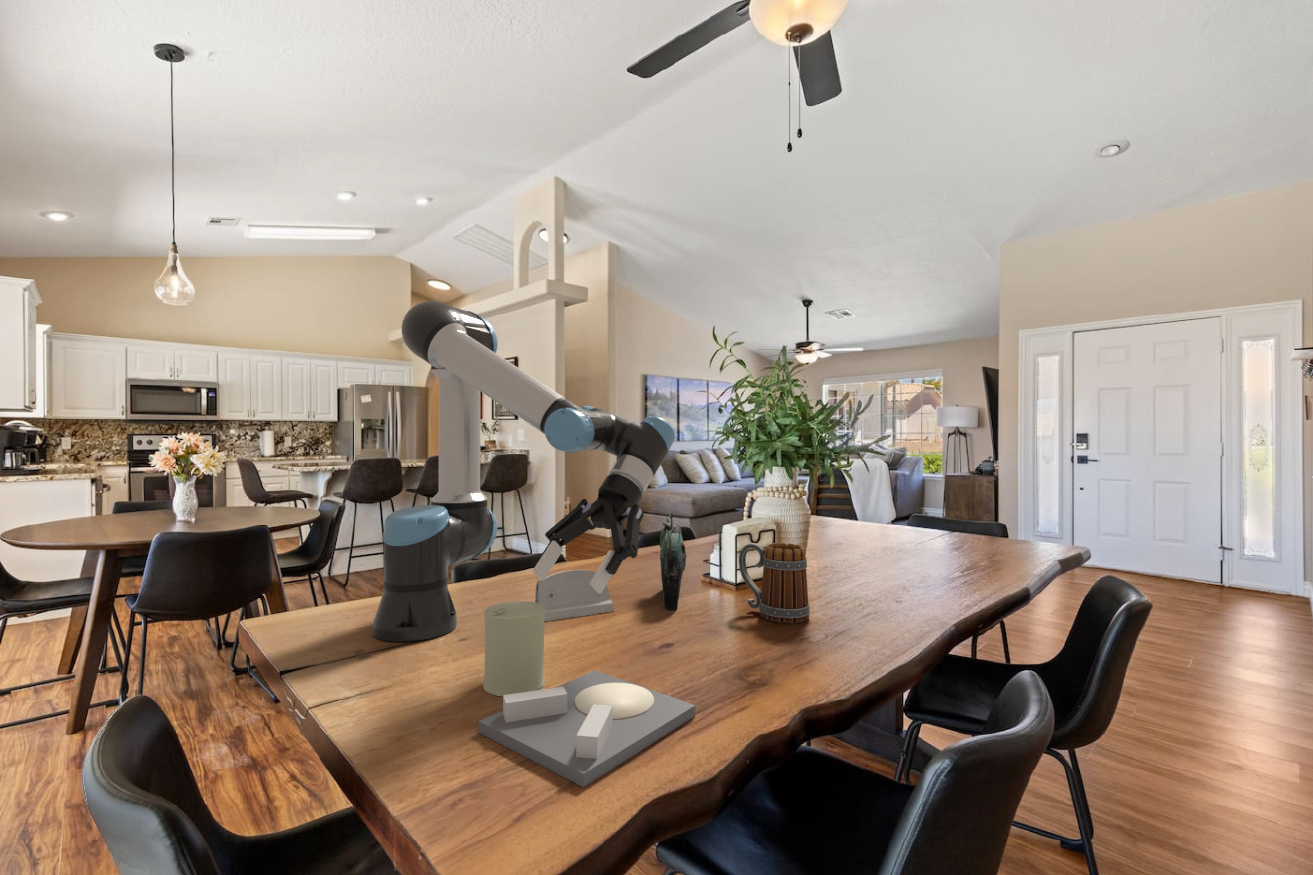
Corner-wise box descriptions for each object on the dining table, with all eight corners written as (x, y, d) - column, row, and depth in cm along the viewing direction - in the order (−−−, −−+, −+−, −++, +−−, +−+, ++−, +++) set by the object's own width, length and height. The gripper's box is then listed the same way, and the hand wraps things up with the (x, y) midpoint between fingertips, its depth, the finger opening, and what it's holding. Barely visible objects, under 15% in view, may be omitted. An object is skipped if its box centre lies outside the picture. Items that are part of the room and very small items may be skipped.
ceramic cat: (659, 587, 151) (660, 507, 151) (685, 588, 151) (686, 508, 151) (657, 610, 131) (658, 519, 131) (686, 611, 131) (687, 519, 131)
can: (471, 684, 92) (472, 606, 92) (522, 667, 99) (522, 594, 99) (505, 702, 86) (506, 619, 86) (556, 683, 93) (557, 606, 93)
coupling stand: (478, 732, 78) (478, 701, 78) (595, 679, 94) (595, 654, 94) (583, 787, 66) (583, 750, 66) (695, 716, 83) (695, 686, 83)
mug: (816, 614, 130) (817, 545, 130) (799, 627, 121) (800, 553, 121) (749, 603, 138) (750, 537, 138) (729, 614, 129) (730, 544, 129)
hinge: (540, 621, 123) (536, 572, 126) (534, 623, 127) (530, 575, 130) (615, 611, 131) (609, 564, 134) (607, 613, 135) (602, 568, 137)
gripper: (688, 503, 106) (633, 608, 95) (586, 494, 122) (528, 582, 110) (670, 475, 102) (610, 580, 90) (567, 469, 117) (504, 558, 106)
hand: (565, 582), depth 100 cm, fingers open, 13 cm apart
